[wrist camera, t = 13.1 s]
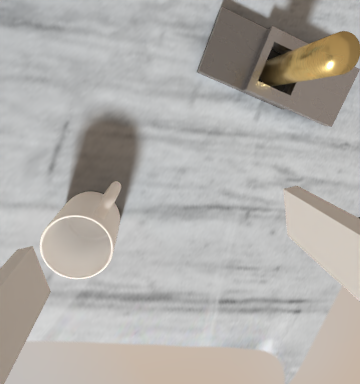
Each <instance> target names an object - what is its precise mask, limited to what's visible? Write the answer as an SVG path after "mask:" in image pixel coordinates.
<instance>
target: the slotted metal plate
mask: <svg viewBox="0 0 360 384" xmlns="http://www.w3.org/2000/svg"><path fill="white" fill-rule="evenodd" d="M305 45H308V43H306V42H304V41H302V40H300V39H298V38H296V37H294V36H292V35H290V34H288V33H286V32H284V31H282V30H280V29H278V28H276V27H274V26H272V27H270V28H269V29H267V28H265V27H263V26H261V25H259V24H257V23H255V22H253V21H250V20H248V19H246V18H244V17H242V16H240V15H238V14H236V13H234V12H232V11H230V10H228V9H226V8H224V7H222V8H221V10H220V11H219V14H218V17H217V19H216V22H215V25H214V27H213V30H212V33H211V36H210V38H209V41H208V44H207V46H206V49H205V52H204V54H203V57H202V60H201V63H200V65H199V68H198V71H197V72H198V73H200V74H202V75H204V76H207V77H209V78H211V79H214V80H216V81H218V82H221V83H223V84H225V85H227V86H230V87H232V88H234V89H237V90H239V91H241V92H244V93H246V94H248V95H250V96H253V97H255V98H257V99H260V100H262V101H264V102H267V103H269V104H271V105H273V106H276V107H278V108H280V109H287V110H290V111H292V112H294V113H297V114H299V115H301V116H303V117H306V118H308V119H310V120H313V121H315V122H317V123H319V124H322V125H324V126H330V127H332V125H333V123H334V121H335V119H336V117H337V115H338V113H339V111H340V109H341V107H342V105H343V103H344V101H345V99H346V96H347V94H348V92H349V90H350V88H351V86H352V84H353V82H354V80H355V78H356V76H357V74H358V72H359V70H360V69H358V68H356V67H354V68H353V69H352V70H350V71H349V72H347V73H345V74H342V75H337V76H331V77H325V78H319V79H313V80H307V81H301V82H295V83H289V84H286V86H285V88H284V90H283V92H281V91H279V90H277V89H275V88H272V87H270V86H268V85H266V84H264V83H261V82H259V81H258V79H259V77H260V75H261V72H262V70H263V68H264V65H265V63H266V60H267V58H268V56H269V53H270V51H271V49H272V50H274V51H276V52H278V53H280V54H285V53H287V52H290V51H292V50H295V49H297V48H300V47H302V46H305Z"/></svg>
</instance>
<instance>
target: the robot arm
mask: <svg viewBox="0 0 360 384" xmlns="http://www.w3.org/2000/svg"><path fill="white" fill-rule="evenodd" d="M283 191H284V202H285V213H286V224H287V235H288V237H290V238H291V239H292V240H293V241H294V242H295V243H296V244H297V245H298V246H299V247H301V248H302V249H303V250H304V251H305V252H306V253H307V254H308V255H309V256H310V257H311V258H313V259H314V260H315V261H316V262H317V263H318V264H319V265H320V266H321V267H322V268H323V269H325V270H326V271H327V272H328V273H329V274H330V275H331V276H332V277H333V278H334V279H336V280H337V281H338V282H339V283H340V284H341V285H342V286H343V287H344V288H345V289H346V290H348V291H349V292H350V293H351V294H352V295H353V296H354V297H355V298H356V299H357V300H358V301H360V217H358V218H357V217H355V216H354V215H352V214H350V213H348V212H346V211H344V210H342V209H340V208H338V207H336V206H335V205H333V204H331V203H329V202H327V201H325V200H323V199H321V198H319V197H318V196H316V195H314V194H312V193H310V192H308V191H306V190H304V189H302V188H301V187H299V186H294V187H290V188H285V189H283ZM50 292H51V291H50V289H49V286H48V284H47V281H46V279H45V276H44V274H43V271H42V269H41V266H40V264H39V261H38V259H37V256H36V253H35V251H34V248H33V246H31V247H27V248H23V249H18V250H17V251H16V252H15V253H14V254H13V255H12V256H11V257H10V258H9V260H8V261H7V262H6V263H5V264H4V265H3V266H2V267H1V269H0V384H4V383H5V381H6V379H7V377H8V375H9V373H10V371H11V369H12V367H13V365H14V363H15V361H16V359H17V357H18V355H19V353H20V351H21V349H22V347H23V346H24V344H25V342H26V340H27V338H28V336H29V334H30V332H31V330H32V328H33V326H34V324H35V322H36V320H37V318H38V316H39V314H40V312H41V310H42V308H43V306H44V304H45V302H46V300H47V298H48V296H49V294H50Z"/></svg>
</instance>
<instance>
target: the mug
mask: <svg viewBox="0 0 360 384" xmlns="http://www.w3.org/2000/svg"><path fill="white" fill-rule="evenodd" d="M120 190H121V184H120V183H119V182H117V181H115V182H113V183H112V184H111V185H110V186H109V188H108V189H107V190H106V192H105V193H104V194H102V193H99V192H93V191H89V192H83V193H80V194H77V195H76V196H74V197H73V198H71V199H70V200H69V201H68V202H67V203H66V204H65V206H64V207H63V208H62V209H61V210H60V212H59V213H58V214H57V215H56V216H55V218H54V219H53V220H52V221H51V222H50V223H49V225H48V226H47V227H46V228H45V230H44V232H43V233H42V236H41V240H40V251H41V255H42V258H43V260H44V261H45V263H46V264H47V266H48V267H49V268H50V269H52V270H53V271H54V272H56V273H57V274H59V275H61V276H64V277H67V278H71V279H85V278H89V277H92V276H94V275H96V274H98V273H100V272H101V271H102V270H104V269H105V268H106V267H107V265H108V264H109V262H110V261H111V258H112V255H113V251H114V247H115V243H116V238H117V234H118V230H119V225H120V214H119V210H118V208H117V206H116V204H115V201H116V199H117V197H118V195H119V192H120Z"/></svg>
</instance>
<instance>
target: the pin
mask: <svg viewBox="0 0 360 384" xmlns="http://www.w3.org/2000/svg"><path fill="white" fill-rule="evenodd" d="M359 56H360V44H359V41H358V39H357V38H356V36H355V35H353V34H352V33H350V32H346V31H342V32H338V33H336V34H333V35H330V36H328V37H325V38H323V39H320V40H318V41H315V42H313V43H310V44H308V45H305V46H302V47H300V48H297V49H295V50H292V51H290V52H287V53H285V54H282V55H279V56H277V57H274V58H272V59H269V60H267V61H266V63H265V65H264V68H263V70H262V72H261V75H260V77H261V80H262V81H263V83H264V84H266V85H268V86H278V85H283V84H289V83H295V82H301V81H307V80H313V79H319V78H325V77H331V76H337V75H342V74H345V73H347V72H349V71H350V70H352V69H353V68H354V66H355V65H356V63H357V62H358V59H359Z"/></svg>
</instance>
